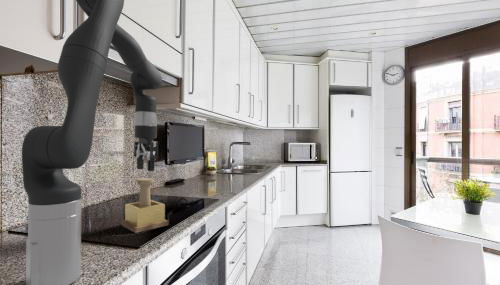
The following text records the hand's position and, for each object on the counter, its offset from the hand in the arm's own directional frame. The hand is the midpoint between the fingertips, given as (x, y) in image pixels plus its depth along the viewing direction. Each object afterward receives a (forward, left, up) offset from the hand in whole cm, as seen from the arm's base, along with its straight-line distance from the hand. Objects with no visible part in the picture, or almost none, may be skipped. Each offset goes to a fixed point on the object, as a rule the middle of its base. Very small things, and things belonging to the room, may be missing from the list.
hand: (145, 170), depth 96 cm
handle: (0, 0, -19) cm, 18 cm away
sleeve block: (0, 0, -20) cm, 20 cm away
